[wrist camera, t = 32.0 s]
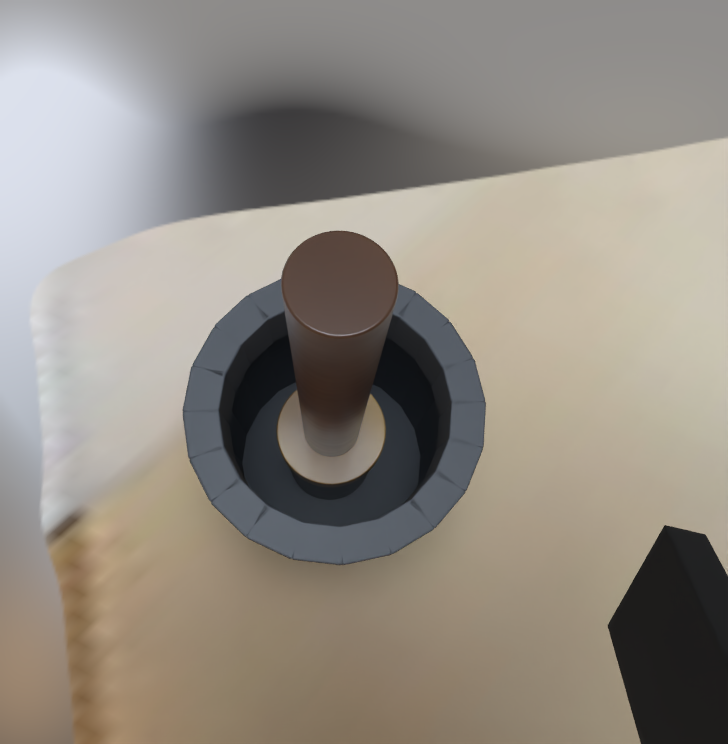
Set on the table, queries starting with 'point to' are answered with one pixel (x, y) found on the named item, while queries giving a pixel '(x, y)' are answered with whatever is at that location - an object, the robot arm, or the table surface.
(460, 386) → the grey cylindrical holder
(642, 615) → the robot arm
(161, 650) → the table surface
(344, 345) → the brush
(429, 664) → the table surface
